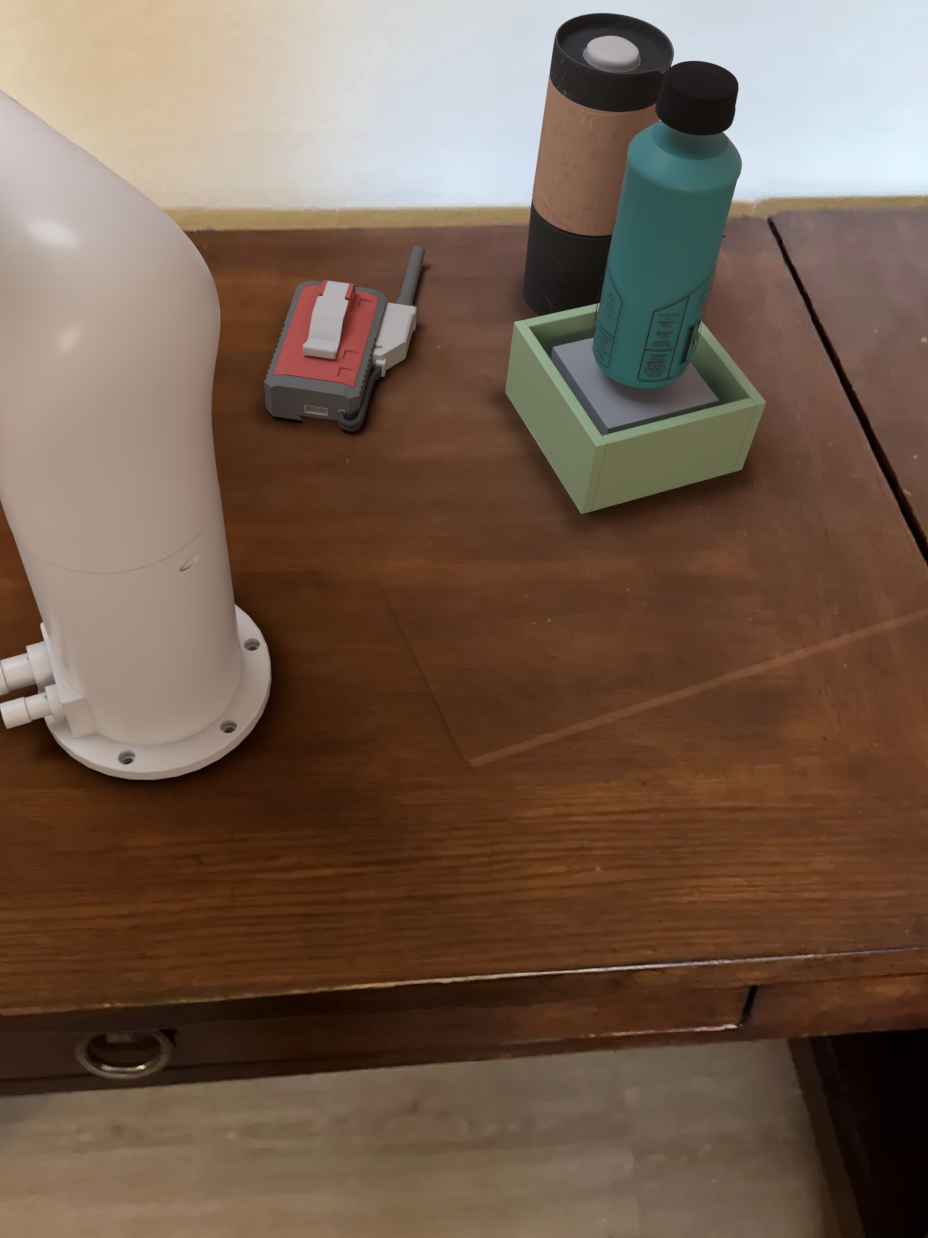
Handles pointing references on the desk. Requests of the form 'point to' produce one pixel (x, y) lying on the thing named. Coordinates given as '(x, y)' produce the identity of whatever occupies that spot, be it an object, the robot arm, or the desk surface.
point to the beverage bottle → (668, 229)
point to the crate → (637, 454)
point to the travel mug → (588, 151)
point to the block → (626, 392)
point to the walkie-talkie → (339, 348)
